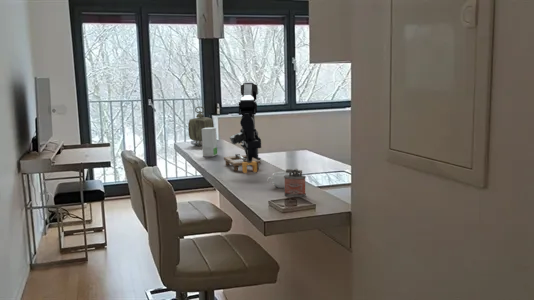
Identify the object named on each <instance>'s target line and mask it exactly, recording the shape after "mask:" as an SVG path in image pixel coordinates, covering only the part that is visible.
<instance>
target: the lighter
mask: <svg viewBox="0 0 534 300" xmlns="http://www.w3.org/2000/svg"><path fill="white" fill-rule="evenodd" d="M285 172H286V173H289V175H284V178H285V188H284V197H291V198H305V197H306V196H307V193H306V178H307V177H306V175H303V170H302V169H298V168H294V169H291V168H286V169H285ZM291 173H292V175H291Z"/></svg>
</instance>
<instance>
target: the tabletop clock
mask: <svg viewBox="0 0 534 300" xmlns="http://www.w3.org/2000/svg"><path fill="white" fill-rule="evenodd" d="M199 108H201V109H203V111H201V110H199V111H197V109H199ZM194 111H195V112H196V113H197V114H196V116H195V118H191V119H189V120H188V123H187V124H188V128H187V129H188V137H189V139H190V140H192V141H195V143H198V142H199V143H198V144H197V145H198V146H199V145H201V146H202V144H201V143H202V130H201V129H203V128H214V127H215V126H214V125H215V124H214V121H213V119H212V118H211V117H205V115H204V113H205V108H204V107H203V106H196V107H195V109H194Z"/></svg>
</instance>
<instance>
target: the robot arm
mask: <svg viewBox="0 0 534 300" xmlns="http://www.w3.org/2000/svg"><path fill="white" fill-rule="evenodd" d="M258 91H259V90H258V85H257V84H255V83H254V82H253V81H248V82H247V81H244V82H243V83H242V84H241V85H240V95H241V97H240V99H239V102H238V116H241V119H240V126H241V129H240V130H239V132H238V133H235V134H233V135H231V136H229V140H230V141H231V142H230V143H231V144H233V145H236V144H240V147H242V148H243V150H244V152H245V155H246V156H248V160H249V161H251V160H252V158H255V159H257V160H260V159H262V158H261V157H259V149H262V139H261V137H260V136H259V132H258V131H257V129H256V122H255V115H256V114H257V113H258V103H257V101H256V100H257V96H258V95H259V92H258Z"/></svg>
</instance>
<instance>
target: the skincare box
mask: <svg viewBox="0 0 534 300" xmlns="http://www.w3.org/2000/svg"><path fill="white" fill-rule="evenodd" d="M201 130H202V141H201V143H202V144H201V146H202V157H206V158H207V157H215V156H218V142H217V141H218V140H217V127H216V126H214V128H203V129H201Z"/></svg>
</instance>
